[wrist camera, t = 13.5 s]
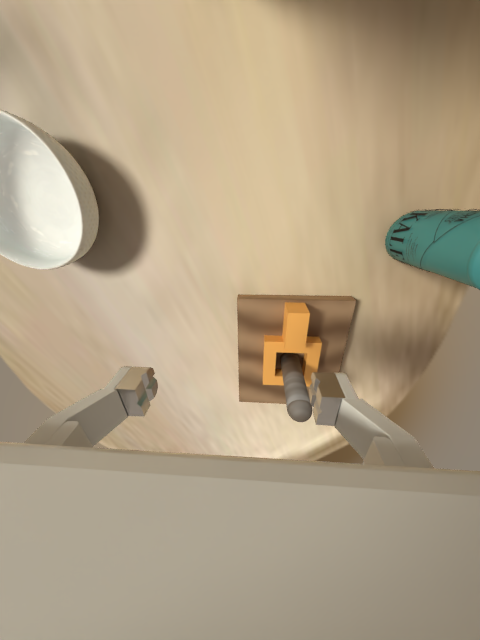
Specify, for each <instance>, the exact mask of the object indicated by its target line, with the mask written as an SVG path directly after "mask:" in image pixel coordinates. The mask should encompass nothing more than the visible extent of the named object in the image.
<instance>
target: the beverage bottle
mask: <svg viewBox="0 0 480 640" xmlns="http://www.w3.org/2000/svg"><path fill="white" fill-rule="evenodd" d="M419 210H420V209H419ZM424 210H425V209H424ZM436 210H441V211H436ZM436 210H435V211H433V210H432V211H430V210H429V211H427V210H426V211H413V212H411V213H408V214H406V215H403V216H402V217H400V218H399V219H398V220H397V221H396V222H395V223H394V224H393V225H392V226H391V227H390V229H389V231H388V233H387V236H386V240H385V245H386V250H387V251H388V253H389V254H390V255H389V256H391V257H393V259H396V260H399V261H401V262H403V263H404V264H405V263H406V265H407V264H409V265H410V266H411V265H412V266H416V267H417V268H420V269H423V270H426V271H429V272H430V271H431V272H434V273H436V274H439V275H442V276H445V277H447V278H450V279H453V280H456V281H459V282H461V283H464V284H467V285H470V286H473V287H475V288H478V289H479V290H480V211H474V210H473V211H470V210H471V209H469V210H468V211H467V210H466V211H454V210H452V209H451V210H450V211H448V209H446V210H447V211H445V210H444V209H436ZM443 210H444V211H443ZM455 210H456V209H455ZM458 210H460V209H458ZM475 210H477V209H475ZM412 266H411V267H412Z"/></svg>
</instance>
